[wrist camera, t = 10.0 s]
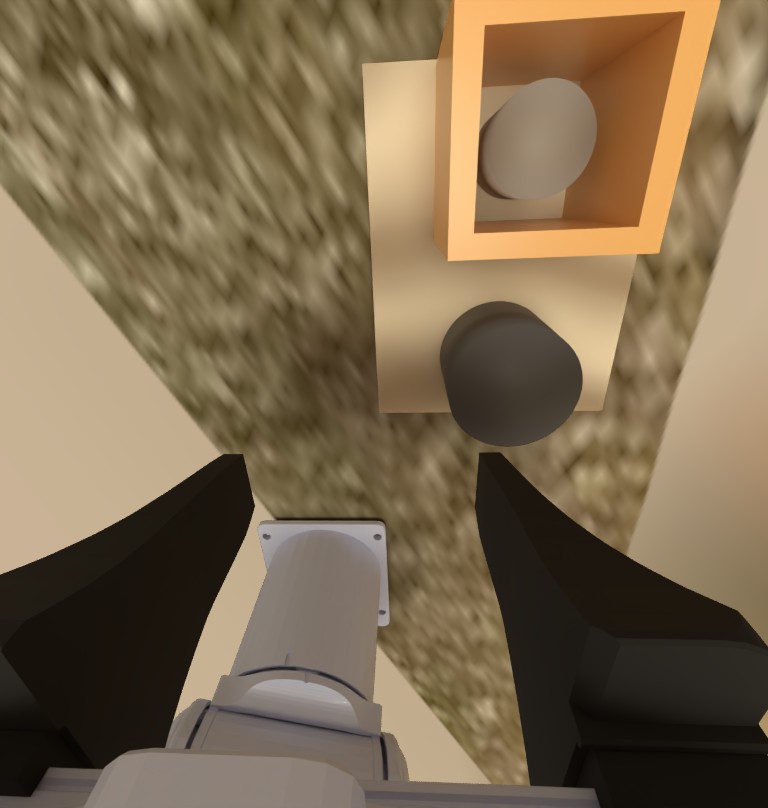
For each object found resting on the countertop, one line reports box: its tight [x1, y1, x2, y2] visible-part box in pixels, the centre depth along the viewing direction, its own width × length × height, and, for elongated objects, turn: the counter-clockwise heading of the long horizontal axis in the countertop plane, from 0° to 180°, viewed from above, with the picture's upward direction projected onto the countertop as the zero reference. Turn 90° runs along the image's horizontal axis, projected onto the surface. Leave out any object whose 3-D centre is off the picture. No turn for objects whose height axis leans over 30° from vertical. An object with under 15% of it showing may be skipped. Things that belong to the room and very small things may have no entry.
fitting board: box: [362, 60, 637, 447], centre depth 16 cm, size 14×11×5 cm
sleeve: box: [434, 0, 720, 261], centre depth 13 cm, size 6×6×6 cm
